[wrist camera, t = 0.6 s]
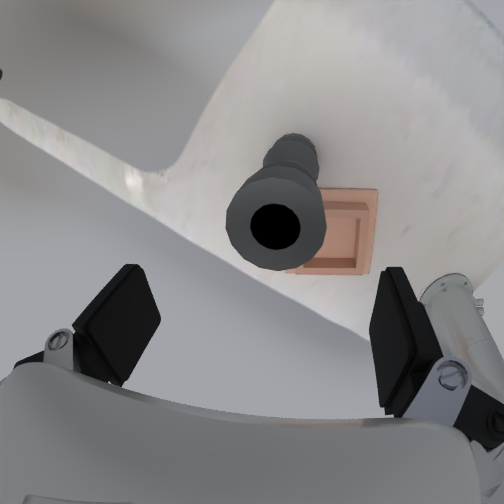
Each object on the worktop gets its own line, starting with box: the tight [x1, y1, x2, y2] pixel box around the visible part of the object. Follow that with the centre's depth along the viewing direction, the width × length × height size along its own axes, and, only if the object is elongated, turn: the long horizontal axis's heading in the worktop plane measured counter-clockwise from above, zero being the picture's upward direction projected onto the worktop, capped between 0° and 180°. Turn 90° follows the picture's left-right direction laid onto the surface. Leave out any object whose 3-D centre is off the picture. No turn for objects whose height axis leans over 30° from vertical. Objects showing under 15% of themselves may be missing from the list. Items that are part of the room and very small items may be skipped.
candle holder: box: [226, 133, 327, 271], centre depth 26 cm, size 6×6×25 cm
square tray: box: [286, 188, 378, 275], centre depth 39 cm, size 14×14×4 cm
